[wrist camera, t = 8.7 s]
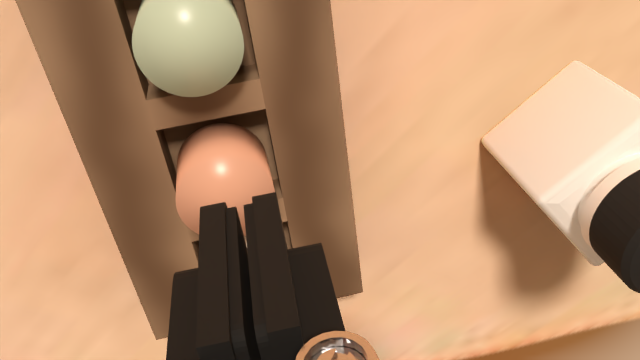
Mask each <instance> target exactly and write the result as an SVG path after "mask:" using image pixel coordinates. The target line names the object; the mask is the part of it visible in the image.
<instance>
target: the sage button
mask: <svg viewBox="0 0 640 360" xmlns="http://www.w3.org/2000/svg"><path fill="white" fill-rule="evenodd" d="M132 48H133V53H134V57H135V60H136V62H137V64H138V66H139V68H140V70H141V71H142V72H143V74H144V75H145V76H146V77H147V78H148V79H149V81H151V82H152V83H153V84H154V85H155V86H157V87H159V88H160V89H162V90H164V91H166V92H168V93H171V94H174V95H177V96H182V97H200V96H205V95H209V94H211V93H214V92H216V91H218V90H220V89H221V88H223V87H224V86H225V85H227V84H228V83H229V82H230V81H231V80H232V79H233V77H234V76H235V75H236V73H237V71H238V70H239V68H240V65H241V63H242V59H243V54H244V40H243V34H242V30H241V26H240V22H239V18H238V14H237V10H236V7H235V5H234V2H233V0H142V1H141V4H140V7H139V10H138V14H137V18H136V21H135V25H134V28H133V34H132Z"/></svg>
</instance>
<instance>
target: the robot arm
mask: <svg viewBox="0 0 640 360" xmlns="http://www.w3.org/2000/svg"><path fill="white" fill-rule="evenodd" d="M244 218H245V229H246V241H247V246H246V242H245V238H244V234H243V230H242V226H241V222H240V218H239V214H238V211H237V208H236V207H231V208H227V205H226V203H225V202H222V203H217V204H212V205H207V206H202V207H200V220H199V256H198V268H194V269H189V270H184V271H179V272H175V273H174V276H173V283H172V295H171V307H170V319H169V331H168V343H167V355H166V360H379V358H378V356H377V354H376V352H375V350H374V349H373V347H372V346H371V345H370V343H369V342H368V341H367V340H365V339H364V338H362V337H361V336H359V335H358V334H354V333H351V332H348V331H345V328H344V325H343V321H342V317H341V314H340V310H339V306H338V302H337V299H336V295H335V291H334V287H333V284H332V280H331V276H330V272H329V269H328V265H327V261H326V257H325V254H324V250H323V246H322V244H321V243H317V244H312V245H307V246H302V247H297V248H292V249H288V248H287V243H286V238H285V234H284V229H283V224H282V219H281V214H280V209H279V204H278V199H277V194H276V192H273V193H268V194H263V195H258V196H253V197H252V203H251V204H246V205H244Z"/></svg>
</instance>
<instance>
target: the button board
mask: <svg viewBox="0 0 640 360" xmlns="http://www.w3.org/2000/svg"><path fill="white" fill-rule="evenodd" d="M15 1H16V3H17V5H18V8H19V10H20V13H21V15H22V17H23V20H24V22H25V25H26V27H27V29H28V32H29V34H30V37H31V39H32V42H33V44H34V46H35V49H36V51H37V54H38V56H39V58H40V61H41V63H42V66H43V68H44V70H45V73H46V75H47V78H48V80H49V82H50V85H51V87H52V90H53V92H54V95H55V97H56V99H57V102H58V104H59V107H60V109H61V111H62V114H63V116H64V119H65V121H66V123H67V126H68V128H69V131H70V133H71V135H72V138H73V140H74V143H75V145H76V147H77V150H78V152H79V155H80V157H81V160H82V162H83V164H84V167H85V169H86V172H87V174H88V176H89V179H90V181H91V184H92V186H93V188H94V191H95V193H96V196H97V198H98V200H99V203H100V205H101V208H102V210H103V213H104V215H105V217H106V220H107V222H108V225H109V227H110V229H111V232H112V234H113V237H114V239H115V241H116V244H117V246H118V249H119V251H120V253H121V256H122V258H123V261H124V263H125V265H126V268H127V270H128V273H129V275H130V278H131V280H132V282H133V285H134V287H135V290H136V292H137V294H138V297H139V299H140V302H141V304H142V306H143V309H144V311H145V314H146V316H147V318H148V321H149V323H150V326H151V328H152V331H153V333H154V335H155V338H156V340H158V339H162V338H166V337H168V331H169V319H170V307H171V295H172V283H173V276H174V273H175V272H179V271H184V270H189V269H194V268H198V256H199V234H197V233H195V232H194V231H192V230H191V229H190V228H188V227H187V226H186V225H185V224H184V222H183V221H182V220H181V218H180V216H179V214H178V212H177V208H176V176H177V157H178V153H179V150H180V148H181V146H182V144H183V143H184V141H185V140H186V139H187V138H188V137H189V136H190V135H191V134H192V133H194V132H195V131H196V130H198V129H200V128H202V127H205V126H207V125H211V124H217V123H229V124H235V125H238V126H241V127H244V128H246V129H248V130H249V131H251V132H252V133H253V134H255V135H256V136H257V137H258V139H259V140H260V141H261V143H262V144H263V146H264V148H265V151H266V154H267V159H268V163H269V168H270V172H271V176H272V181H273V185H274V189H275V192H276V194H277V199H278V204H279V209H280V214H281V219H282V224H283V229H284V234H285V238H286V243H287V248H288V249H292V248H297V247H302V246H307V245H312V244H317V243H321V244H322V246H323V250H324V254H325V257H326V261H327V265H328V269H329V272H330V276H331V280H332V284H333V287H334V291H335V295H336V298H339V297H344V296H348V295H352V294H357V293H361V292H363V289H362V281H361V272H360V263H359V254H358V245H357V236H356V227H355V218H354V209H353V200H352V191H351V183H350V174H349V165H348V156H347V147H346V138H345V129H344V120H343V111H342V102H341V93H340V84H339V76H338V67H337V58H336V49H335V40H334V31H333V22H332V13H331V4H330V0H233V2H234V5H235V7H236V10H237V14H238V18H239V22H240V26H241V30H242V34H243V40H244V54H243V59H242V63H241V65H240V68H239V70H238V71H237V73H236V75H235V76H234V77H233V79H232V80H231V81H230V82H229V83H228V84H227V85H225V86H224V87H223V88H221V89H220V90H218V91H216V92H214V93H211V94H209V95H205V96H200V97H182V96H177V95H174V94H171V93H168V92H166V91H164V90H162V89H160V88H159V87H157V86H155V85H154V84H153V83H152V82H151V81H149V79H148V78H147V77H146V76H145V75H144V74H143V72H142V71H141V70H140V68H139V66H138V64H137V62H136V60H135V57H134V53H133V48H132V34H133V28H134V25H135V21H136V18H137V14H138V10H139V7H140V4H141V1H142V0H15Z"/></svg>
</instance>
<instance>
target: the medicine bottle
mask: <svg viewBox="0 0 640 360" xmlns="http://www.w3.org/2000/svg"><path fill="white" fill-rule="evenodd" d="M481 141H482V144H483V146H484V147H485V148H486V149H487V150H488V151H489V152H490V153H491V155H492V156H493V157H494V158H495V159H496V160H497V161H498V162H499V163H500V165H501V166H502V167H503V168H504V169H505V170H506V171H507V172H508V173H509V174H510V176H511V177H512V178H513V179H514V180H515V181H516V182H517V183H518V184H519V186H520V187H521V188H522V189H523V190H524V191H525V192H526V193H527V194H528V195H529V197H530V198H531V199H532V200H533V201H534V202H535V203H536V204H537V205H538V207H539V208H540V209H541V210H542V211H543V212H544V213H545V214H546V215H547V216H548V218H549V219H550V220H551V221H552V222H553V223H554V224H555V225H556V226H557V227H558V229H559V230H560V231H561V232H562V233H563V234H564V235H565V236H566V237H567V238H568V240H569V241H570V242H571V243H572V244H573V245H574V246H575V247H576V248H577V249H578V251H579V252H580V253H581V254H582V255H583V256H584V257H585V258H586V259H587V260H588V262H589V263H590V264H592V265H594V266H599V265H601V264H602V263H603V262H605V263H606V264H607V265H608V266H609V267H610V268H611V269H612V270H613V271H614V272H615V273H616V274H617V276H618V277H619V278H620V279H621V280H622V281H623V282H624V283H625V284H626V285H627V286H628V287H629V288H630V289H632V290H633V291H636V292H638V293H640V98H639V97H637V96H635V95H634V94H632V93H631V92H629V91H627V90H626V89H624V88H622V87H621V86H619V85H617V84H616V83H614V82H613V81H611V80H609V79H608V78H606V77H604V76H603V75H601V74H599V73H598V72H596V71H595V70H593V69H591V68H590V67H588V66H586V65H585V64H583V63H581V62H580V61H572V62H571V63H569V64H568V65H567V66H566V67H565V68H564V69H562V70H561V71H560V72H559V73H558V74H556V75H555V76H554V77H553V78H552V79H551V80H549V81H548V82H547V83H546V84H545V85H544V86H542V87H541V88H540V89H539V90H538V91H536V92H535V93H534V94H533V95H532V96H531V97H529V98H528V99H527V100H526V101H525V102H523V103H522V104H521V105H520V106H519V107H518V108H516V109H515V110H514V111H513V112H512V113H511V114H509V115H508V116H507V117H506V118H505V119H503V120H502V121H501V122H500V123H499V124H498V125H496V126H495V127H494V128H493V129H492V130H490V131H489V132H488V133H487V134H486V135H485V136H483V138H482V140H481Z"/></svg>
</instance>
